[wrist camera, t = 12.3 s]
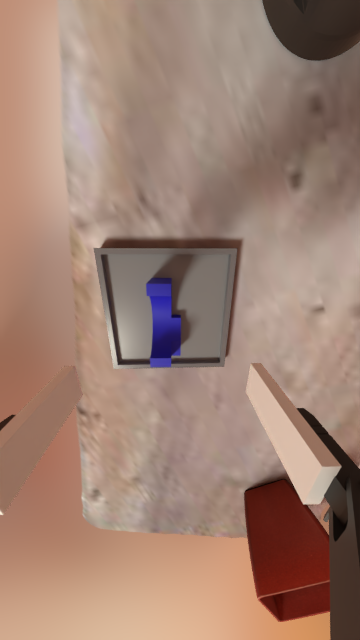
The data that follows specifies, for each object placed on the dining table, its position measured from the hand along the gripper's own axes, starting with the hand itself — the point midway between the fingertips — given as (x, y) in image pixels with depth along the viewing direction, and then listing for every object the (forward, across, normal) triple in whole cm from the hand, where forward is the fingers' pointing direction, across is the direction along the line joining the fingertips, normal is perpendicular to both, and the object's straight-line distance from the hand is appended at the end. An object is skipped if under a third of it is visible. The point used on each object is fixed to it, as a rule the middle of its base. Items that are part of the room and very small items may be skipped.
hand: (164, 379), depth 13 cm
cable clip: (+16, -1, 0) cm, 16 cm away
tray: (+17, 0, 0) cm, 17 cm away
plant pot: (+17, +29, -58) cm, 67 cm away
